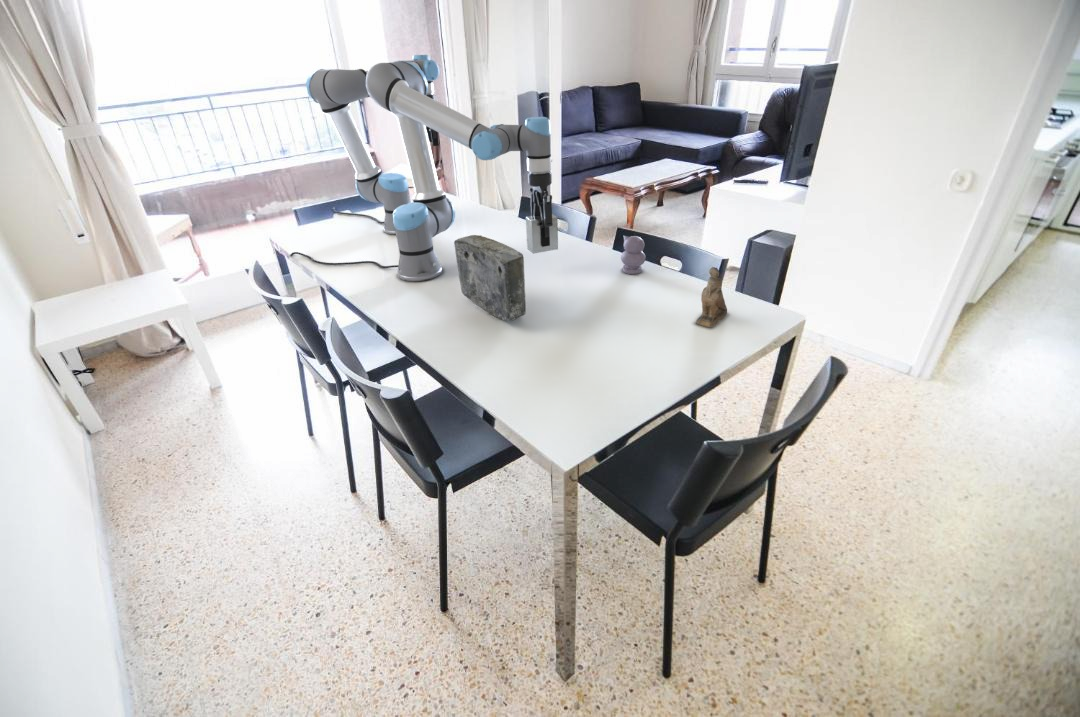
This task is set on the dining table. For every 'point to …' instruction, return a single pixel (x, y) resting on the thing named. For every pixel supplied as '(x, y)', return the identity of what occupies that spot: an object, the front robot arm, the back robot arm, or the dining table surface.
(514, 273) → the concrete block
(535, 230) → the brick
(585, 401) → the dining table surface
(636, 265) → the cat figurine
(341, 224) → the dining table surface
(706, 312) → the worn brown figurine
